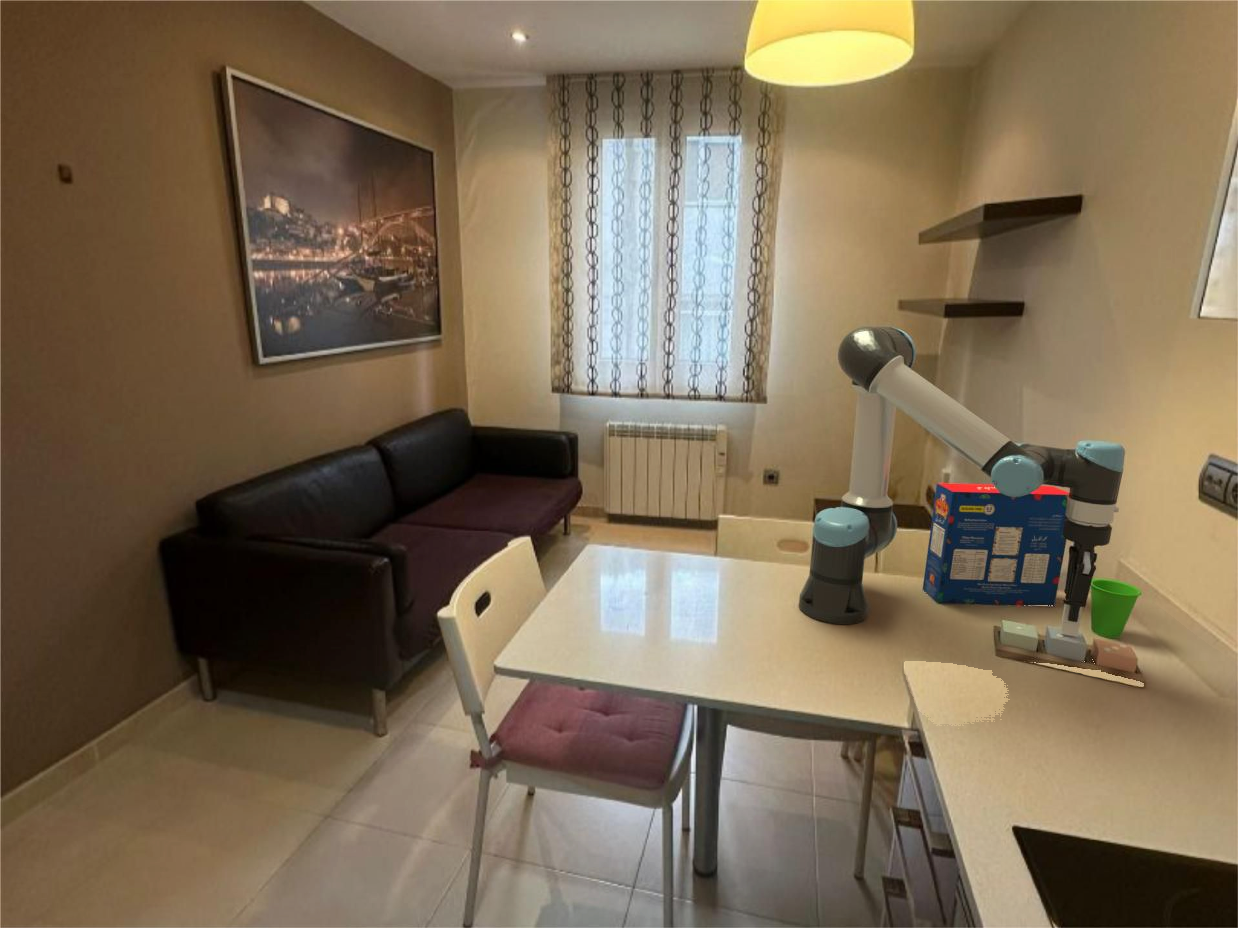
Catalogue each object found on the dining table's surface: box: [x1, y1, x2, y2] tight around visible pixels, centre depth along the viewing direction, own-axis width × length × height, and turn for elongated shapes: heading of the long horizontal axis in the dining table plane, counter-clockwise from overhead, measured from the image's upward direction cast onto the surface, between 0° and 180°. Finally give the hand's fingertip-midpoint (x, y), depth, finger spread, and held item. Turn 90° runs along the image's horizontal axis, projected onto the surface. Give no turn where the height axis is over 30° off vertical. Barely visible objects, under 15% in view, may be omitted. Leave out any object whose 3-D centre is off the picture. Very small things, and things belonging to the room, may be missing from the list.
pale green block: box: [999, 619, 1038, 652], centre depth 133 cm, size 6×6×4 cm
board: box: [993, 624, 1146, 685], centre depth 129 cm, size 24×12×2 cm, turn 62°
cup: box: [1090, 578, 1142, 639], centre depth 140 cm, size 9×9×11 cm
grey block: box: [1044, 625, 1088, 662], centre depth 129 cm, size 6×6×4 cm
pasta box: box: [922, 482, 1070, 607], centre depth 155 cm, size 28×8×28 cm, turn 89°
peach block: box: [1090, 637, 1139, 673], centre depth 126 cm, size 6×6×4 cm
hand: (1068, 633), depth 128 cm, fingers closed
